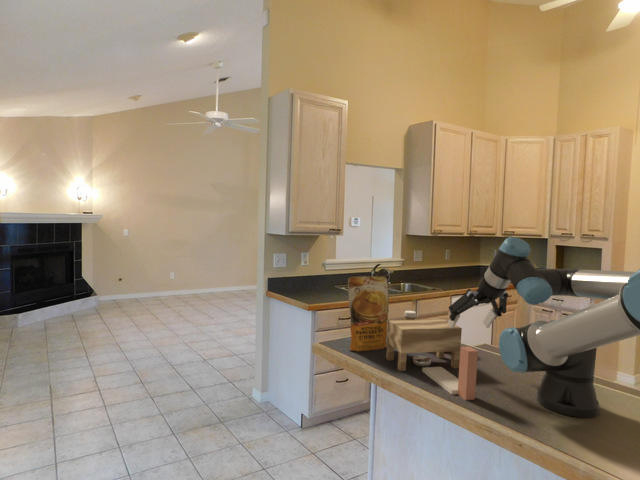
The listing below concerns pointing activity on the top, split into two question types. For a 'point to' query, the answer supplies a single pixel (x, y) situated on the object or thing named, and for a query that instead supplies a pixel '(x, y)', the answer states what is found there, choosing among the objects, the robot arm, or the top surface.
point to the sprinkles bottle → (410, 315)
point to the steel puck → (422, 361)
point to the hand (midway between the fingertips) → (468, 325)
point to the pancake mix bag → (368, 312)
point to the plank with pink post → (466, 375)
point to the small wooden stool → (423, 339)
